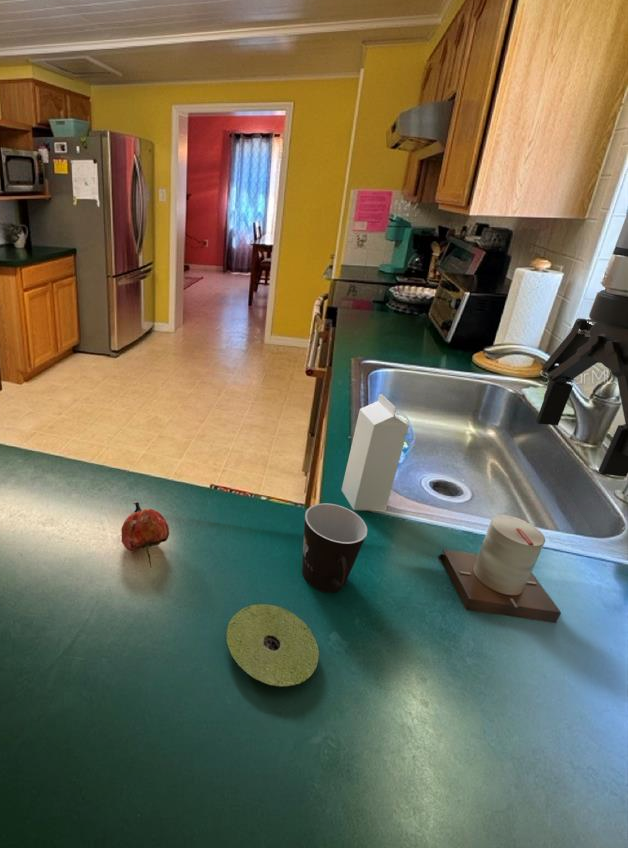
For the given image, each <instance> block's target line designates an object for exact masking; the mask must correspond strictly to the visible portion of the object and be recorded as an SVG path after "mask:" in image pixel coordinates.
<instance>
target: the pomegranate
mask: <svg viewBox="0 0 628 848" xmlns="http://www.w3.org/2000/svg"><path fill="white" fill-rule="evenodd" d="M133 505H135V510H134V512H132V513H131V514H129V516H127V517H126V519H125V520H124V521H123V523H122V526H121V530H120V532H121V543H122V545H123V546H124V548H125V549H126V550H127V551H128V552H130V553H134V552H138V551H140V549H145V551H146V554H147V557H148V562H149V567H150V568H152V562H151V554H150V552H149V548H152V547H156V546H159V545H160V544H161V543H164V542H167V541H168V539H169V536H170V530H169V529H170V527H169V524H168V522H167V520H166V518H165V517H164V516H163V514H161V513H160V512H159V511H157V510H155V509H152V508H149V509H146V508H145V509H141V508H142V507H140V503H139V502H138V501H137V502H133Z"/></svg>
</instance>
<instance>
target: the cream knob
mask: <svg viewBox="0 0 628 848" xmlns="http://www.w3.org/2000/svg"><path fill="white" fill-rule="evenodd" d="M545 543H546V537H545V535H544V534H543V532H541V531H540V530H539V529H538V528H537V527H536V526H534V525H533V524H532V523H529V522H528V521H525V520H523V519H521V518H518V517H516V516H512V515H507V514H499V515H495V516H493V517H492V518H491V520H490V523H489V525H488V527H487V531H486V534H485V536H484V539H483V541H482V544H481V546H480V549H479V552H478V553H477V554H478V557H477V559H476V562H475V565H474V567H473V570H474V573H475V575H476V577H477V578H478V579H479V580H480V581H481V582H482V583H483V584H485V585H486V586H487V587H489V588H491V589H493V590H495V591H497V592H499V593H502V594H506V595H519V594H521V593H522V592H523V590H524V588H525V585H526V583H527V581H528V579H529V576H530V574H531V572H532V573H533V570H534V568H535V565H536V564H537V561H538V559H539V556H540V554H541V552H542V549H543V547H544V545H545Z"/></svg>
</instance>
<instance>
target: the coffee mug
mask: <svg viewBox="0 0 628 848" xmlns="http://www.w3.org/2000/svg"><path fill="white" fill-rule="evenodd" d="M367 535H368V525H367V524H366V523H365V521H364V519H363V518H362V517H361V516H360V515H359V514H357V513H356V512H354V510H351V509H349V508H347V507H345V506H342V505H339V504H335V503H326V502H325V503H323V502H322V503H317V504H313V505H311V506H309V507H308V508H307V509H306V511H305V513H304V525H303V544H302V562H301V563H302V564H301V574H302V577H303V578H304V580H305V582H306V583H307V584H309V586H311V587H313V588H314V589H316V590H318V591H320V592H324V593H337V592H340V591H341V590H343V589H344V587H346V586H347V583H348V578H349V575H350V574H351V571H352V569H353V567H354V565H355V562H356V560H357V559H358V556H359V553H360V551H361V549H362V546H363V544H364V543H365V540H366V537H367Z"/></svg>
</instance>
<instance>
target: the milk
mask: <svg viewBox="0 0 628 848" xmlns="http://www.w3.org/2000/svg"><path fill="white" fill-rule="evenodd" d="M396 412H397V407H396V406H395V405H394V404H393V403H392V402H391V401H390V400H388V398H387V397H385V396H384V395H383V394H382V393H379V395H378V398H377V400H376V401H375V402H372V403H370V404H368V405H365V406H363V407H360V408H359V411H358V416H357V420H356V424H355V429H354V433H353V434H354V435H353V438H352V442H351V447H350V450H349V456H348V460H347V464H346V469H345V473H344V477H343V482H342V486H341V492H342V494H343V496H344V497H345V498H346V501H347V502H348V504H349V505H350V506H351V509H352V511H382V512H383V511H387V508H388V504H389V500H390V496H391V492H392V489H393V485H394V482H395V478H396V474H397V471H398V467H399V463H400V461H401V457H402V454H403V453H402V452H403V448H404V445H405V441H406V438H407V435H408V431H409V427H410V425H408V423H407V422H406V421H405V420H403V419H402V417H400V416H399V415H398V414H397V413H396Z"/></svg>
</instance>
